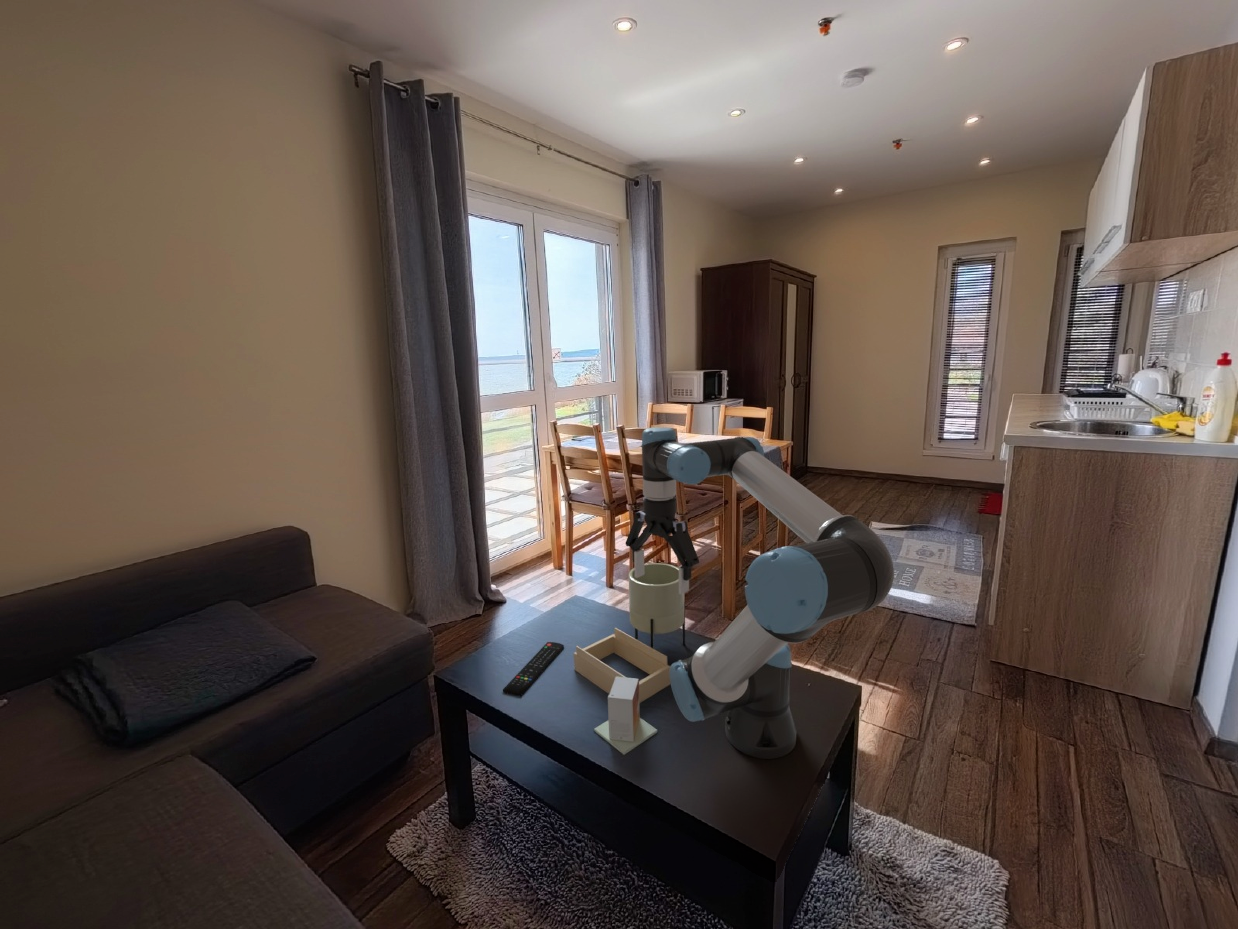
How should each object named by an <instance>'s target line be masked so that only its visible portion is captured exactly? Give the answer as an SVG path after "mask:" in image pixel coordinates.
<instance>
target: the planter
mask: <svg viewBox="0 0 1238 929" xmlns="http://www.w3.org/2000/svg"><path fill="white" fill-rule="evenodd" d="M644 570H645V574H644V575H642V576H640V577H638V578H636V577H635V567H633V568H632V569H630V570H629V572H628V600H629V602H628V606H629V607H628V608H629V623H630V625H631V626H632V627H633V628H634V638H635V639H637V640H639V632H642V633H646V634H650V647H651V648H653V649H654V647H655V646H654V637H655V635H661V634H668V633H672V632H675V631H677V630H679V629H680V628H681V636H682V638H681V643H682V645H683V646H685V645H686V601H685V593H684V594H682V595H681V594H679V566H677V565H672V564H668V563H663V562H661V563H660V562H658V563H657V562H653V563H652V562H651V563H644Z"/></svg>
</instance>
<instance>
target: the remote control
mask: <svg viewBox="0 0 1238 929" xmlns="http://www.w3.org/2000/svg"><path fill="white" fill-rule="evenodd" d="M564 648H565V645H564V644H562V643H559V642H554V641H547V642H546V643H545V644H544V645H543V646H542V648H540V649H539V651H537V653H536V654H535V655H534V656H533V657H532V658H531V659H530V660H529V661H528V662H527V663H526V664H525V665H524V666H523V667H522V668H521V669H520V671H518V673H516V675H515V676H514V677H513V678H512V679H511V680H510V681H509V682H508V684H506V685H505V687H504V688H503V689H502V693H504V692H505V693H504V694H507V693H508V695H512V696H516V697H522V696H523V695H524V694H525V692H526V691H527V690H528V689H529V688H530V686H532V685H533V683H535V681H536V680H537V679H538V678H539V677H540V676H541V675H542V673H543V672H544V671H545V670H546V669H547V667H548V666H550V664H551V663H552V662H553V660H554V659H555V658H557V656H558V655H559V654H560V653H561V651H562V650H563V649H564Z"/></svg>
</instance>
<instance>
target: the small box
mask: <svg viewBox="0 0 1238 929" xmlns="http://www.w3.org/2000/svg"><path fill="white" fill-rule="evenodd" d="M639 681H640V679H639V678H633V677H626V676H625V677H617V676H616V677H615V680H614V683H613V686H612V688H611V691H610V694H608V695H607V711H608V712H607V714H608V715H607V716H608V719H607V720H609V739H612V740H620V741H628V742H634V739H635V735H636V731H637V727H638V724H639V720H640V718H641V716H640V714H641V713H640V703H639Z"/></svg>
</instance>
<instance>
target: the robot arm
mask: <svg viewBox="0 0 1238 929" xmlns="http://www.w3.org/2000/svg"><path fill="white" fill-rule="evenodd" d="M641 435H642V437H641V445H640V446H641V461H642V462H641V463H642V495H643V496H644V497H642V499H643V500H642V507H643V510H639V511H637V512H635V513H634V519H633V522H632V525H631V528H630V531H629V533H628V536H627V537H626V541H625V545H626V547H629V548H630V550H631V552H632V563H633V564H634V567H633V568H635V577H636V578H638V577H640V576H642V575H644V574H645V570H644V564H645V549H644V548H643V547H644V545H645V543H646V542H647V541H648V540H649V538H650V537H651V536H655V537H656V536H657V537H659V538H663V539H664V540H665V542H667V543H668V544H669V546H670V547H671V550H672V552H674V554H675V557H676V558H677V560H678V561H679V564H680V565H679V566H678V568H679V594H681V595H682V594H684V595H685V593H687V592H689V591H690V580H691V579H692V567H694V566H696V565H698V564H700V559H699V557H698V553H697V552H696V549H695V546H694V543H693V542H692V538H691V535H690V533H689V530H688V529H689V528H688V522H687V520H683V521H677V520H676V517H675V516H676V513H677V497H676V495H677V482H679V483H682V484H687V485H698V484H700V483H701V482H703V481H705V479H706V478H711V477H718V476H729V477H731V478H732V479H733V480H734V481H735V482H736V483H738V484H739V486H741V487H742V488H743V489H744V490H745V491H747V493H749V494H750V495H751V496H752V497H753V498H754V499H756V500H757V501H758V502H759V503H760V504H761V505H763V506H764V507H765V508H766V509H767V510H768V511H769V512H771V513H772V515H773V516H775V517H776V518H777V519H778V520H780V521H781V522H782V523H783V524H784V525H785V526H786V527H788V528H789V529H790V530H791V531H792V532H793V533H794V534H796V535H797V536H798V537H799V538H800V539H801V540H802V541H804V542H805V543H802V544H797V545H794V546H790V545H789V546H788V545H787V546H781V547H776V548H774V549H773V550H772V549H771V550H770V551H767V552H764V553H762V554H760V555H759V556H757V557H755V559H754V560H753V561H752V562H751V564H750V566H749V567H748V568H747V572H746V575H745V581H746V583H747V584H746V585H744V591H745V592H744V595H745V599H746V604H747V605H746V606H745V607H744V608H743V610H741V611H740V612H739V613H738V615H737V616H736V617H735V619H733V621H732V622H731V623H730V624H729V625H728V626H727V627H726V628H725V630H723V632H722V633H721V634H720V635H719V637H718V638H717V639H716V640H715V641H711V642H708V643H705V644H703V645H701V646H700V647H699V648H698V649H696V651H695V652H694V653H693V654H692V655H691V656H690V657H688V658H684V659H678V660H677V661H675V662H673V663H672V664H671V665H670V666H671V667H670V682H671V684H670V686H671V687H670V688H671V691H672V693H673V694H672V695H673V697H674V699H675V702H676V704H677V706H678V709H679V710H680V712H681V714H682V715H683V717H684V718H685V719H686V720H687V721H689V722H691V723H692V722H693V723H695V722H699V721H705V719H709V718H712V717H715V716H717V715H720V714H724V713H726V712H727V714H726V717H725V723H724V724H725V726H724V729H725V736H726V738H727V740H728V742H729V743H730V745H731V746H733V748H735V749H736V750H738V751H740V752H741V753H743V754H744V755H748V756H750V757H752V758H757V759H764V760H765V759H766V760H772V759H779V758H782V757H785V756H786V755H789V753H791V752H792V750H793V749H794V748H795V746H796V742H797V727H796V723H795V722H794V719H793V714H792V712H791V709H790V690H791V678H792V676H791V675H792V674H791V673H792V666H793V662H792V651H791V648H790V646H789V644H799V643H800V644H801V643H803V642H805V641H808V640H809V639H810V638H812V637H813V636H815V634H817V633H818V632H819V631H820V630H821V629H822V628H823V627H824V626H826V625H828V624H830V623H832V622H833V621H836V620H839V619H842V618H846V617H850V616H852V615H853V616H854V615H856V614H860V613H865V612H867V611H870V610H872V609H874V608H876V607H878V606H879V605H880V604H881V603H883V602H884V600H885V599H886V598H887V597H888V595H889V594H890V592H891V590H892V588H893V584H894V578H895V568H894V562H893V559H892V555H891V553H890V552H889V549H888V548H887V546H886V544H885V543H884V541H883V540H882V539H881V538H880V537H879V535H878V534H877V533H876V532H875V531H874V530H873V529H871V527H869V526H868V525H866V524H865V523H864V522H862V521H861V520H860V519H858V517H856V516H854V515H851V514H845V515H843V514H842V513H840V512H839V511H838V510H836V509H835V508H834V507H832V506H831V505H830V504H828V503H827V502H825V501H824V500H823V499H821V497H819V496H817V494H815V493H813V492H812V491H811V490H810V489H809V488H806V486H804V485H802V484H801V483H800V482H799V481H797V480H796V479H795V478H793V477H792V476H791V475H789V474H788V473H787V472H785V471H784V470H782V469H781V468H780V467H779V466H777V465H776V464H775V463H773V462H772V461H771V460H769V459H768V458H767V457H765V451H764V447H763V446H762V445H761V442H760V441H759V440H758V439H757V438H755V437H753V436H746V437H745V436H736V437H731V438H724V439H722V438H721V439H716V440H715V439H714V440H705V441H695V442H694V441H693V442H688V443H687V442H686V443H684V442H679V441H678V438H677V432H676V430H675V429H674V428H672V427H667V426H665V427H664V426H663V427H662V426H657V427H654V426H653V427H649V428H645V429H644V430H643V431H642V433H641ZM645 523H646V525H645V527H644V528H643V526H644V524H645ZM642 529H643V530H642ZM641 531H642V532H641Z"/></svg>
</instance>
